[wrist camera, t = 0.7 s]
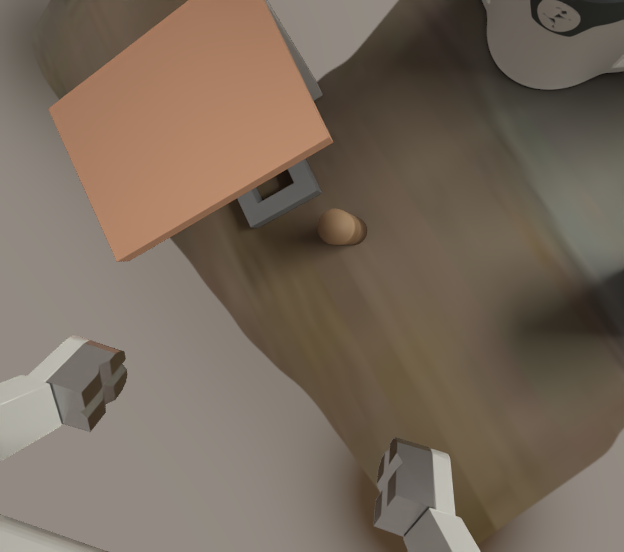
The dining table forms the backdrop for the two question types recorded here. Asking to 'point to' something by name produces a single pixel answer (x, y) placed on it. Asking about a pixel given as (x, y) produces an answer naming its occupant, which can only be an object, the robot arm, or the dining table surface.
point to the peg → (341, 228)
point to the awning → (194, 124)
